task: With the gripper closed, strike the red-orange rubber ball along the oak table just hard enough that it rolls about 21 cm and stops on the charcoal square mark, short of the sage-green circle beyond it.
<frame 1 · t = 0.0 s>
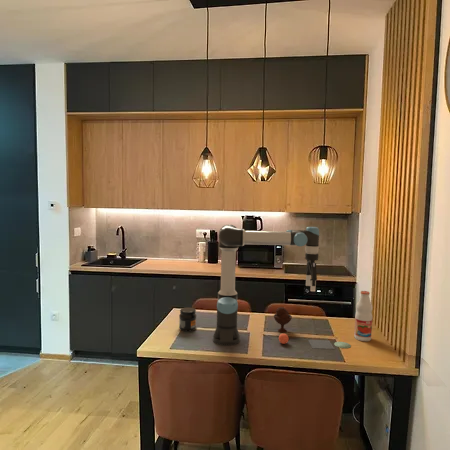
hand: (310, 288, 225), 28 cm above the table, tool pointing down, fingers open, 13 cm apart
ball: (283, 338, 211), on the table
fruit juice: (362, 338, 222), on the table
ice cream bowl: (282, 331, 232), on the table
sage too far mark: (342, 345, 211), on the table
supplement container: (187, 329, 231), on the table
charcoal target: (321, 344, 211), on the table
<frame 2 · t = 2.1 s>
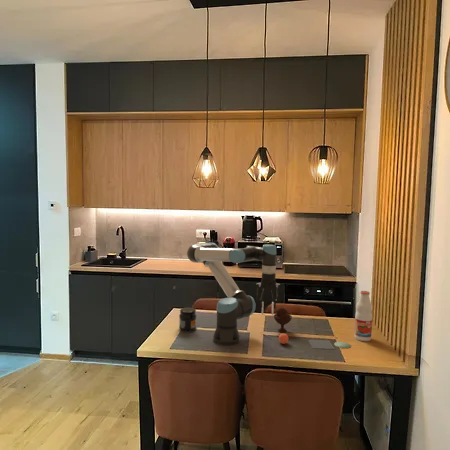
hand: (267, 313, 210), 17 cm above the table, tool pointing down, fingers open, 5 cm apart
nothing on the table moved.
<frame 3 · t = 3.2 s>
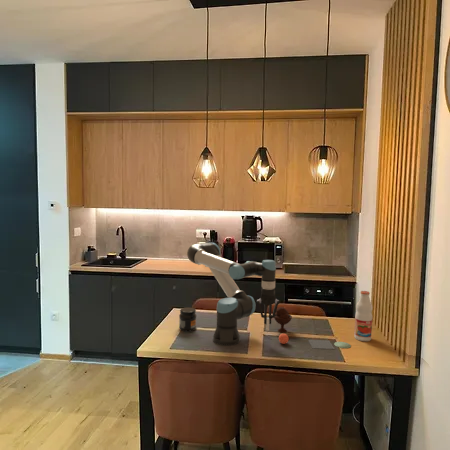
hand: (267, 329, 211), 8 cm above the table, tool pointing down, fingers closed
nothing on the table moved.
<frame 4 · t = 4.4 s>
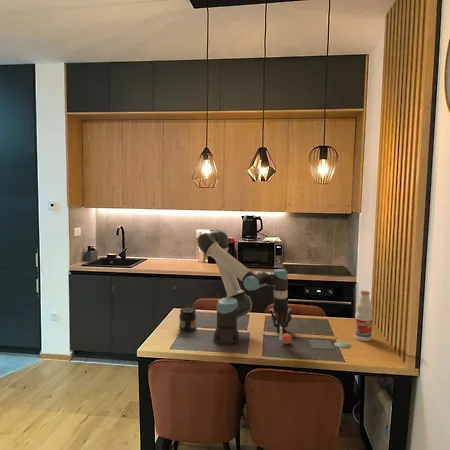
hand: (280, 339, 211), 3 cm above the table, tool pointing down, fingers closed
ball: (286, 338, 211), on the table
everything else where it was.
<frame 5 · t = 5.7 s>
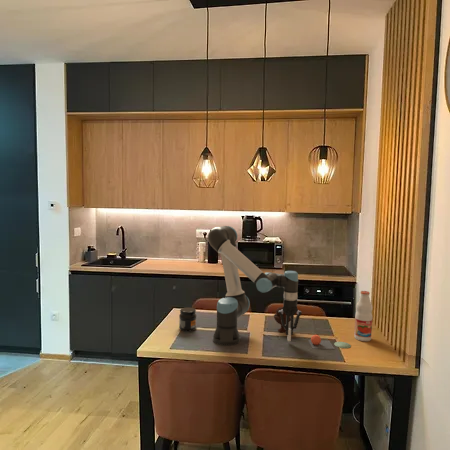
hand: (288, 340, 211), 2 cm above the table, tool pointing down, fingers closed
ball: (316, 339, 211), on the table
everything else where it was.
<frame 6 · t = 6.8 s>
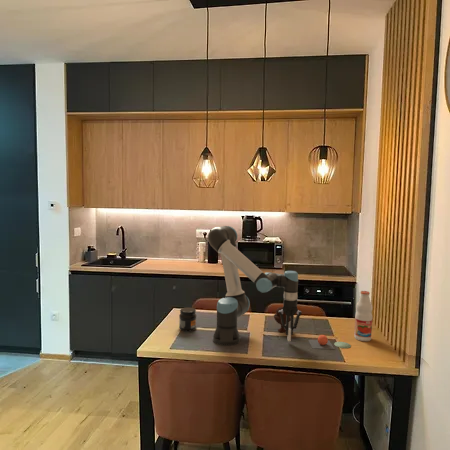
hand: (288, 340, 211), 2 cm above the table, tool pointing down, fingers closed
ball: (322, 340, 211), on the table
everything else where it was.
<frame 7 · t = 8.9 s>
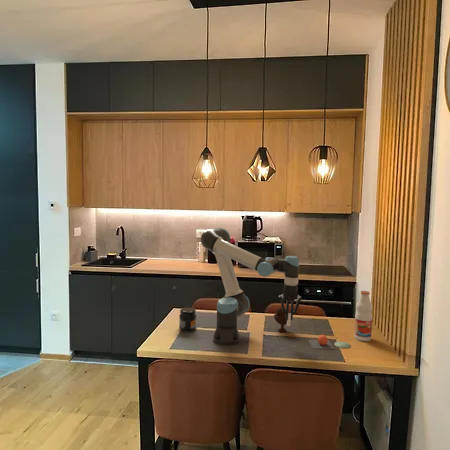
hand: (288, 325, 211), 10 cm above the table, tool pointing down, fingers closed
nothing on the table moved.
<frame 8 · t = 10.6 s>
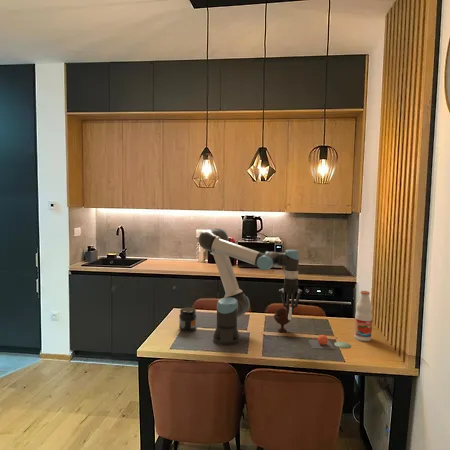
hand: (289, 319, 211), 14 cm above the table, tool pointing down, fingers closed
nothing on the table moved.
at the end: ball 0.9 cm from the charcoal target (horizontally); ball at rest at the end (0.0 cm/s); ball moved 21.7 cm from its start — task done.
